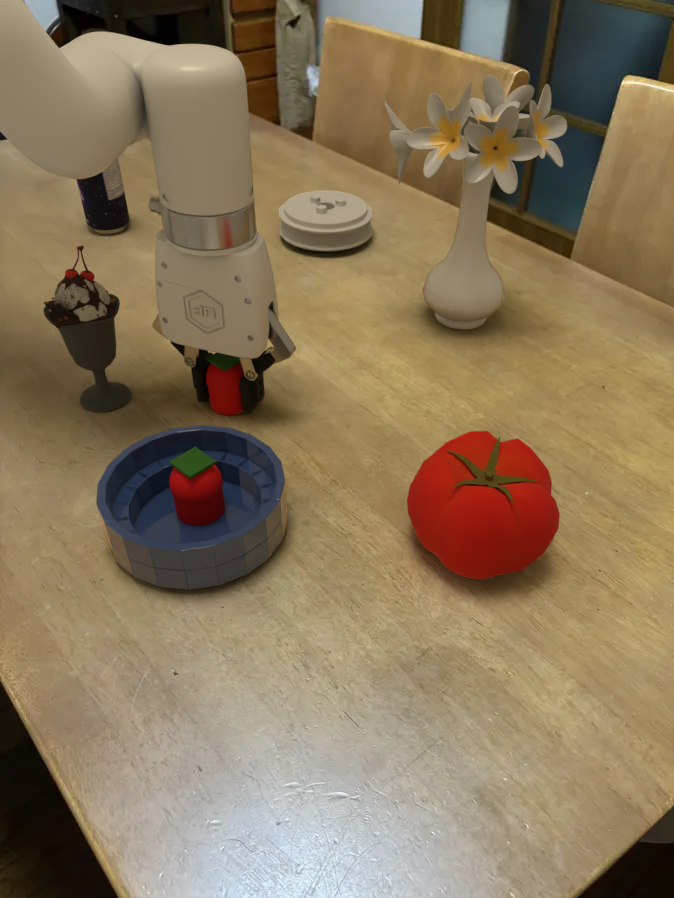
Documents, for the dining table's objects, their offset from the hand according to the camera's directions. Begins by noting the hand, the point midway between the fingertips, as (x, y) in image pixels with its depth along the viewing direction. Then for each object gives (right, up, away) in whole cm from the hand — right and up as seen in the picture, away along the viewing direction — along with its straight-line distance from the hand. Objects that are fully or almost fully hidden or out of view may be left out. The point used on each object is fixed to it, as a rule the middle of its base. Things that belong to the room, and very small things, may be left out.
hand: (230, 398), depth 74 cm
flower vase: (+24, +11, +14) cm, 30 cm away
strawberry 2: (0, 0, 0) cm, 1 cm away
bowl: (0, -12, -12) cm, 17 cm away
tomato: (+22, -14, -12) cm, 29 cm away
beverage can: (-22, +27, +29) cm, 45 cm away
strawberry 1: (0, -11, -11) cm, 16 cm away
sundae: (-13, 0, +1) cm, 13 cm away
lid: (+8, +26, +29) cm, 39 cm away
